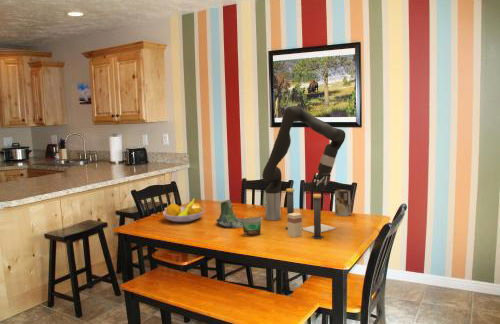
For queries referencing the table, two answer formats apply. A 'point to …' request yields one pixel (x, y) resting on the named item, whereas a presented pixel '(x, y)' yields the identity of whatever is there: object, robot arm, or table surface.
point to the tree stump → (228, 216)
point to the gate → (316, 211)
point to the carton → (294, 224)
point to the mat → (323, 228)
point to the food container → (251, 226)
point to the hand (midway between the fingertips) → (317, 191)
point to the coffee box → (342, 202)
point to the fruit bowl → (183, 212)
